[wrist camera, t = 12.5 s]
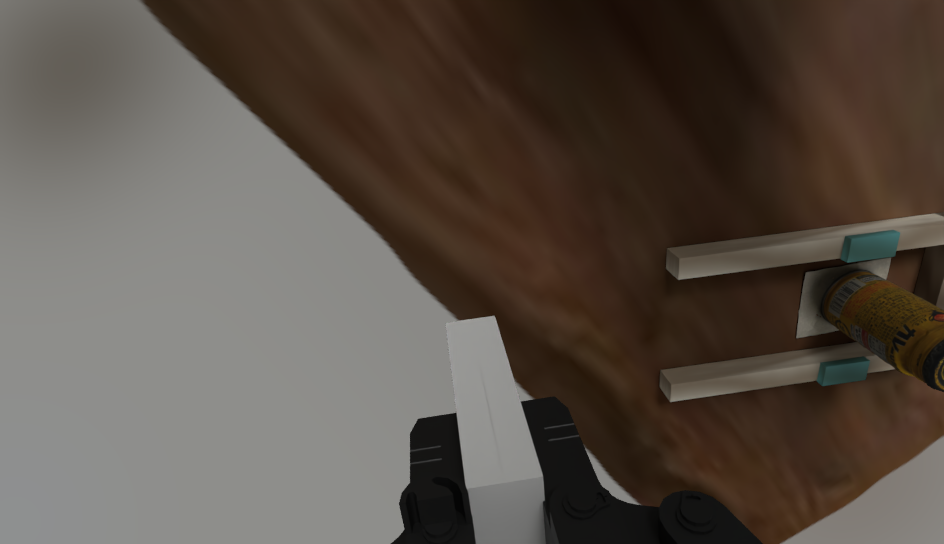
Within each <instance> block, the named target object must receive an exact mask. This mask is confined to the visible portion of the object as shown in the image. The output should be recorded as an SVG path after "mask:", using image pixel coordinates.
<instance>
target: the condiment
mask: <svg viewBox="0 0 944 544" xmlns="http://www.w3.org/2000/svg"><path fill="white" fill-rule="evenodd" d="M890 262H891V258H885V259H879V260H872V261H866V262H859V263H854V264H850V265H845V266H841V267H833V268H827V269H822V270H818V271H812V272H806V274H805V280H804V283H803V289H802V295H801V302H800V309H799V319H798V325H797V336H796V338H801V337H807V336H812V335H818V334H825V333H829V332H834V331H838V330H840V331H842V332H843V333H844V334H846V335H847V336H849V337H850V338H852V339H853V340H855V341H857V342H858V343H859V344H860V345H862V346H863V347H864V348H866V349H868V350H869V351H871V352H872V353H873V354H875V355H877V356H878V357H879V358H880V359H882V360H883V361H884V362H886V363H888V364H890V365H891V366H892V367H894V368H895V369H896V370H897V371H899V372H901V373H904V374H906V375H910V376H915V377H916V378H917V379H919V380H921V381H923V382H925V383H927V385H928V386H930V387H931V388H933V389H936V390H939V391H942V392H944V310H943V309H941V308H939V307H937V306H935V305H933V304H931V303H930V302H928V301H926V300H924V299H922V298H920V297H918V296H916V295H914V294H912V293H910V292H909V291H907V290H905V289H903V288H901V287H899V286H897V285H895V284H893V283H891V282H889V281H887V280H886V278H887V275H888V272H889V267H890ZM833 277H834V279H833ZM816 314H818V315H819V316H816ZM820 316H821V318H820Z"/></svg>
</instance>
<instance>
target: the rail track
mask: <svg viewBox="0 0 944 544" xmlns="http://www.w3.org/2000/svg"><path fill="white" fill-rule="evenodd" d="M922 247H926V248H925V252H924V256H923V260H922V264H921V268H920V272H919V275H918V279H917V283H916V287H915V291H914V295H916V296H918V297H920V298H922V299H924V300H926V301H928V302H930V303H931V304H933V305H935V306H937V307H939V308H941V309H943V310H944V212H943V213H935V214H927V215H920V216H912V217H904V218H896V219H889V220H881V221H873V222H866V223H858V224H850V225H842V226H835V227H827V228H819V229H812V230H804V231H796V232H788V233H781V234H773V235H765V236H758V237H750V238H742V239H734V240H727V241H719V242H711V243H704V244H696V245H688V246H680V247H673V248H667V257H666V269H667V270H668V271H669V272H670V273H671V274H672V275H673V276H674V277H676V278H677V279H678V280H681V279H689V278H697V277H704V276H712V275H719V274H727V273H734V272H742V271H749V270H757V269H764V268H772V267H779V266H787V265H794V264H802V263H809V262H817V261H824V260H832V259H839V258H841V260H843V261H845V262H847V263H849V262H857V261H864V260H871V259H879V258H886V257H894V256H895V254H896V251H899V250H907V249H914V248H922ZM892 369H895V368H894V367H892V366H891V365H890V364H888V363H886V362H884V361H883V360H882V359H880V358H879V357H878V356H877V355H875V354H873V353H872V352H871V351H869V350H868V349H866V348H864V347H863V346H862V345H860V344H859V343H858V342H854V343H847V344H840V345H833V346H826V347H819V348H812V349H805V350H798V351H791V352H784V353H777V354H770V355H763V356H756V357H749V358H742V359H735V360H728V361H721V362H714V363H707V364H700V365H693V366H686V367H679V368H672V369H665V370H660V386H659V387H660V388H661V390H662V391H663V393H664V394H665V395H666V397H667V398H668V400H669V401H670V402H674V401H681V400H688V399H695V398H701V397H708V396H715V395H722V394H729V393H735V392H742V391H749V390H756V389H763V388H770V387H776V386H783V385H790V384H797V383H804V382H810V381H817V382H818V383H819V384H820V385H822V386H827V385H834V384H841V383H847V382H854V381H861V380H866V376H867V373H872V372H879V371H885V370H892Z"/></svg>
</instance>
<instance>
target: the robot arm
mask: <svg viewBox="0 0 944 544" xmlns="http://www.w3.org/2000/svg"><path fill="white" fill-rule="evenodd" d="M445 324H446V332H447V340H448V348H449V356H450V365H451V373H452V381H453V389H454V397H455V405H456V413H453V414H446V415H440V416H433V417H427V418H421V419H418V420H417V422H416V424H415V426H414V428H413V429H412V431H411V433H410V484H409V485H408V486H407V487H406V488H405V490H404V491H403V492H402V495H401V499H400V502H399V505H400V510H401V515H402V519H403V524H404V528H405V530H404V531H403V533H402V534H401V535H400V536H399V537H398V538H397V539H396V540H395V541H394V542H392V543H391V544H763V543H762V542H761V541H760V540H759V539H758V538H757V537H756V536H754V535H753V534H752V533H751V532H750V531H749V530H748V529H747V528H746V527H745V526H744V525H743V524H742V523H741V522H740V521H739V520H738V519H737V518H736V517H735V516H734V515H733V514H732V513H731V512H730V511H729V510H728V509H727V508H726V507H725V506H724V505H723V504H721V503H720V502H719V501H717V500H716V499H714V498H713V497H711V496H708V495H706V494H703V493H701V492H695V491H686V490H685V491H680V492H675V493H672V494H670V495H669V496H667V497H666V498H664V499H663V501H662V503H661V505H660V507H651V506H642V505H635V504H630V503H626V502H624V501H621V500H619V499H616V498H615V497H614V496H612V495H611V494H610V493H609V491H608V490H606V489H605V488H603V487H602V486H601V484H600V482H599V481H598V479H597V476H596V474H595V471H594V469H593V467H592V464H591V462H590V460H589V457H588V455H587V452H586V450H585V448H584V445H583V443H582V441H581V438H580V437H579V434H578V431H577V429H576V426H575V425H574V422H573V419H572V417H571V415H570V412H569V410H568V408H567V407H566V406H565V405H564V404H563V403H561V402H560V401H559V400H558V399H557V398H556V397H548V398H541V399H535V400H528V401H522V402H521V401H520V398H519V395H518V392H517V388H516V385H515V381H514V378H513V375H512V372H511V368H510V365H509V362H508V358H507V355H506V352H505V348H504V345H503V342H502V338H501V335H500V332H499V328H498V325H497V322H496V319H495V316H489V317H483V318H476V319H469V320H462V321H455V322H448V323H445Z"/></svg>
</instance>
